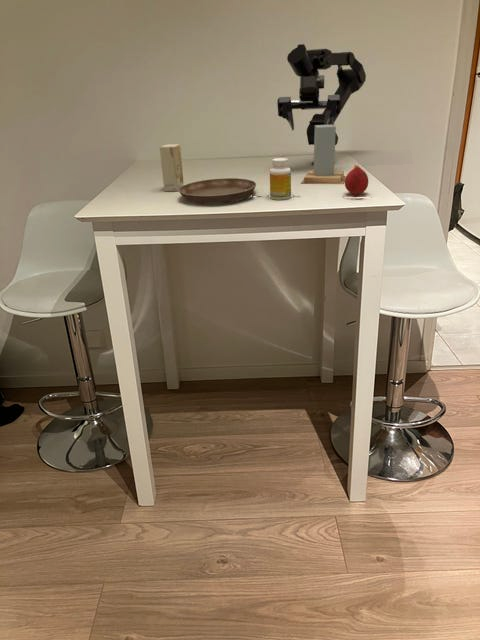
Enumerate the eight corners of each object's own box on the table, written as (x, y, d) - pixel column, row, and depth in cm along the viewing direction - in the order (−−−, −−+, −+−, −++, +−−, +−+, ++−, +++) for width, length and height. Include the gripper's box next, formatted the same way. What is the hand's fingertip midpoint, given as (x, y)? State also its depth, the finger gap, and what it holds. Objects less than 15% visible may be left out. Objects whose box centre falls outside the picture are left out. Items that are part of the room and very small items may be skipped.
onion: (367, 194, 134) (369, 162, 131) (367, 199, 129) (369, 166, 126) (344, 194, 136) (345, 162, 132) (343, 199, 131) (345, 166, 127)
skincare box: (178, 191, 148) (174, 146, 143) (163, 191, 149) (158, 147, 144) (184, 186, 154) (180, 143, 149) (170, 186, 155) (166, 143, 149)
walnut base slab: (306, 180, 158) (306, 175, 157) (346, 180, 155) (347, 175, 154) (300, 189, 147) (300, 183, 147) (343, 189, 144) (343, 184, 144)
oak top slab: (309, 175, 156) (309, 170, 155) (343, 176, 153) (343, 171, 153) (303, 182, 147) (304, 177, 147) (339, 183, 145) (340, 177, 144)
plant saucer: (173, 209, 131) (172, 195, 130) (185, 191, 150) (184, 179, 148) (255, 206, 130) (255, 192, 129) (257, 188, 148) (257, 176, 147)
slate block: (313, 172, 152) (314, 125, 146) (330, 171, 152) (332, 124, 146) (316, 176, 148) (317, 127, 142) (333, 175, 147) (335, 126, 142)
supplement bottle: (289, 200, 133) (289, 160, 128) (268, 200, 134) (267, 161, 129) (292, 195, 137) (292, 157, 133) (271, 195, 138) (271, 157, 134)
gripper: (277, 67, 152) (275, 111, 147) (342, 63, 150) (342, 108, 145) (279, 95, 163) (277, 136, 158) (340, 92, 160) (340, 134, 155)
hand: (308, 128), depth 153 cm, fingers open, 9 cm apart
